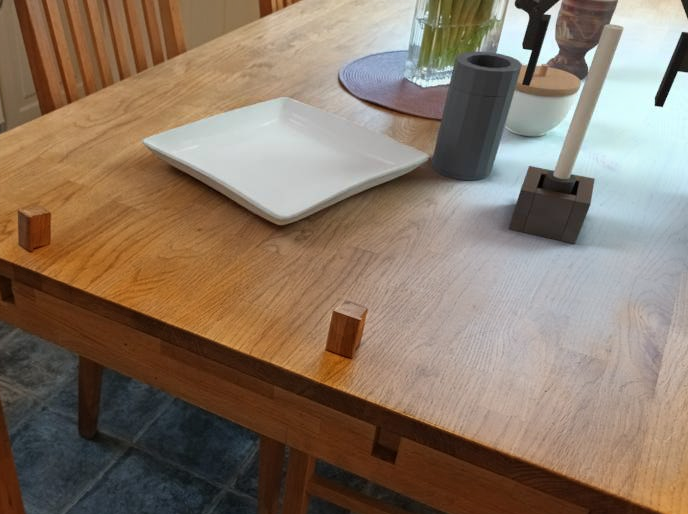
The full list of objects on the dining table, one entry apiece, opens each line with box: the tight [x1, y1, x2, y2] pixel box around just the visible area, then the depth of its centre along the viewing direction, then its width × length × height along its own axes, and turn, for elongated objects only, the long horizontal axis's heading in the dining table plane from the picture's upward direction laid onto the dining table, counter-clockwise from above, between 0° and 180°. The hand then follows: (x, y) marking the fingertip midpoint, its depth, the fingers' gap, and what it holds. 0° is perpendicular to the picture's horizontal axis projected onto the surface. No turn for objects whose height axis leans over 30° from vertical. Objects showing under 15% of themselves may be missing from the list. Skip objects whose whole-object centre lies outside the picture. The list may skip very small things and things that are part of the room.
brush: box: [541, 23, 625, 195], centre depth 79 cm, size 3×3×22 cm
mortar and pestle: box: [545, 0, 619, 80], centre depth 124 cm, size 12×9×20 cm
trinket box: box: [504, 63, 582, 138], centre depth 106 cm, size 11×11×9 cm
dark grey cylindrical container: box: [431, 51, 523, 181], centre depth 93 cm, size 8×8×14 cm
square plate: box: [141, 96, 430, 226], centre depth 94 cm, size 27×27×4 cm
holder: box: [507, 165, 596, 245], centre depth 84 cm, size 7×7×5 cm
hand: (590, 92), depth 76 cm, fingers open, 12 cm apart
